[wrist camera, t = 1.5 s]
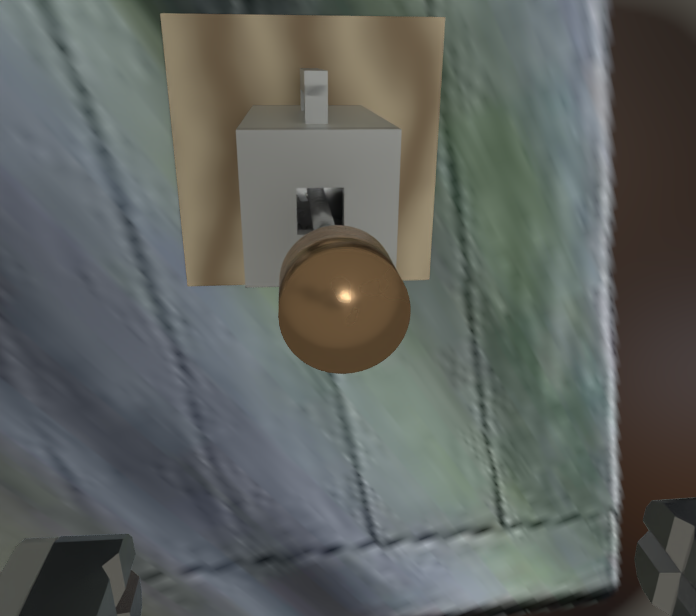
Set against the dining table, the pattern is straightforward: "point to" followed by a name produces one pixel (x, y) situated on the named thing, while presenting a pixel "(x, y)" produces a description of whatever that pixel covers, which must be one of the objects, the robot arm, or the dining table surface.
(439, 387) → the dining table surface
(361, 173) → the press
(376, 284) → the plunger
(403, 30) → the board
